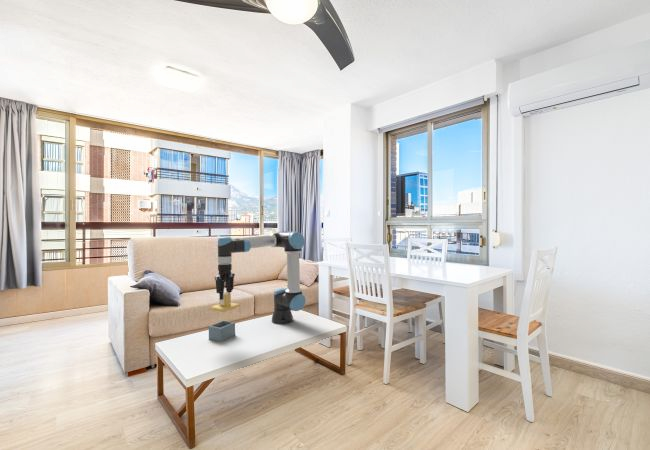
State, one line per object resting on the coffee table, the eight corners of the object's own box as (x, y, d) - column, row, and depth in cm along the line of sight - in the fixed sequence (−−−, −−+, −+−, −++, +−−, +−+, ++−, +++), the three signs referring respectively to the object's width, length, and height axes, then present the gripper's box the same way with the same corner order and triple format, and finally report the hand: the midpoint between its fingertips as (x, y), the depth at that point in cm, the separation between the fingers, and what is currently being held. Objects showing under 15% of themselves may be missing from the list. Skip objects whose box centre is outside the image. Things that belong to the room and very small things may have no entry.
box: (223, 332, 199) (223, 320, 199) (235, 335, 195) (235, 322, 195) (208, 339, 189) (208, 326, 189) (220, 341, 184) (220, 328, 184)
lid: (226, 305, 187) (226, 290, 187) (239, 307, 182) (239, 292, 182) (209, 310, 176) (209, 294, 176) (223, 313, 171) (223, 296, 171)
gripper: (230, 261, 188) (230, 300, 188) (209, 265, 174) (209, 306, 174) (239, 262, 184) (239, 301, 184) (218, 265, 170) (218, 308, 170)
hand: (225, 304), depth 179 cm, fingers closed on lid, 3 cm apart
